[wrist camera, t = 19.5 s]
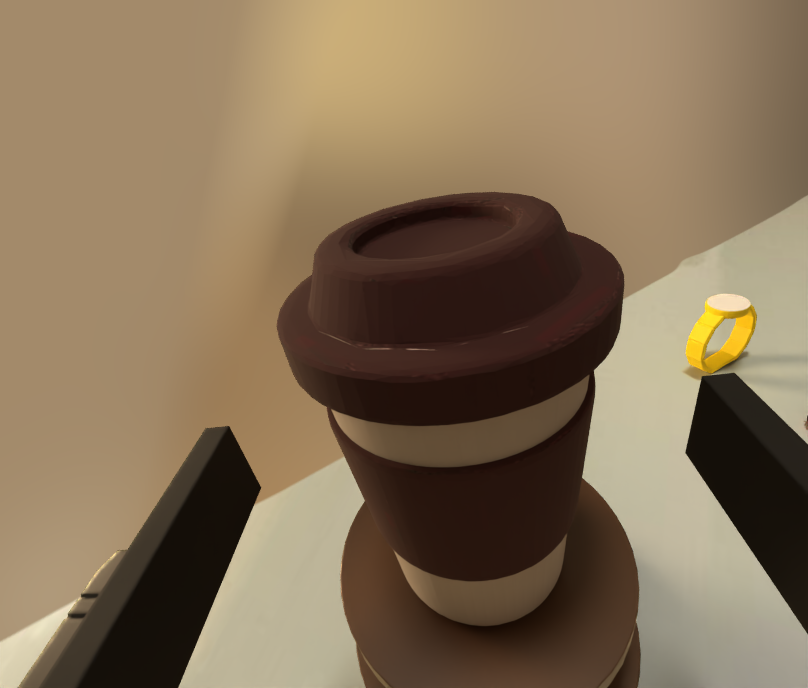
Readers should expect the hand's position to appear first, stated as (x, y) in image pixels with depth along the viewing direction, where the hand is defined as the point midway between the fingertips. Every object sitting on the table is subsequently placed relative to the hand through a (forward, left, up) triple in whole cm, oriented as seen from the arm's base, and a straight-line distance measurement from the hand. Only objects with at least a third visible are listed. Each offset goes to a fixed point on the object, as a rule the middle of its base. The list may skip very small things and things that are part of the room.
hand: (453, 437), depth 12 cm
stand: (-1, +3, -16) cm, 16 cm away
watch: (+12, +28, -16) cm, 34 cm away
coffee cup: (-1, +3, -10) cm, 10 cm away
